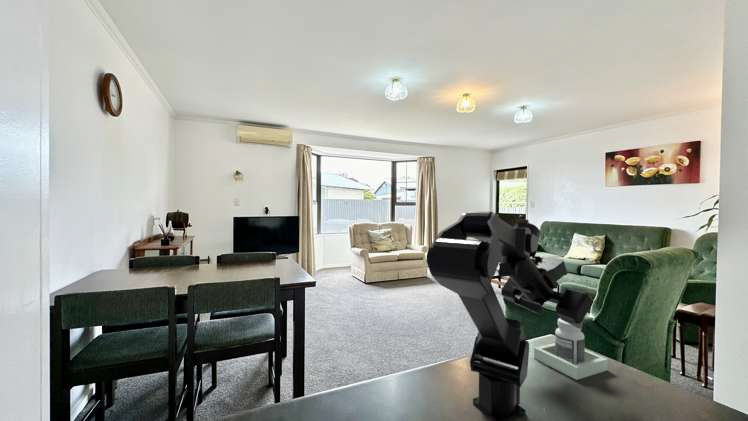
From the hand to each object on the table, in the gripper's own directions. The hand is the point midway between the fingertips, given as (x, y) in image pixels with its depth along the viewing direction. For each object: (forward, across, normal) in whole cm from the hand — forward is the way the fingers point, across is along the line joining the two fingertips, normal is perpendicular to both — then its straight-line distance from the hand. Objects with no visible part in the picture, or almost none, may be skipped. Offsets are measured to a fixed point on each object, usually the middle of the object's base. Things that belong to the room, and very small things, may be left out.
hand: (560, 319), depth 70 cm
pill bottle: (+10, 0, +5) cm, 11 cm away
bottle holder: (+10, 0, +5) cm, 11 cm away
